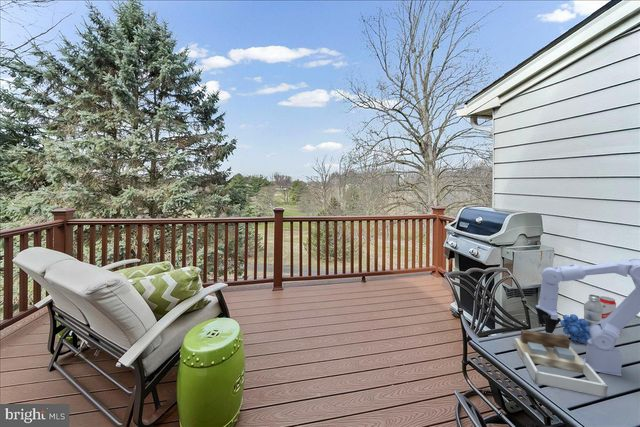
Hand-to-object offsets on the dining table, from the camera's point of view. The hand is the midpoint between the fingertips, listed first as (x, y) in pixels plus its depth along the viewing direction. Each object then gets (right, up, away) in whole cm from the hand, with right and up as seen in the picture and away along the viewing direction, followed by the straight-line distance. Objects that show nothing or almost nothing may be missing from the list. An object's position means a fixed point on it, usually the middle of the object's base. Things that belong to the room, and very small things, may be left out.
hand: (545, 328), depth 122 cm
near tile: (+2, -8, -7) cm, 11 cm away
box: (-6, -12, -15) cm, 20 cm away
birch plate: (-2, -11, -3) cm, 11 cm away
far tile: (-6, -8, -4) cm, 11 cm away
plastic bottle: (+29, -9, +12) cm, 33 cm away
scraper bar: (0, -7, +1) cm, 7 cm away
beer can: (+42, -9, +19) cm, 47 cm away
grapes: (+20, -10, +9) cm, 24 cm away
